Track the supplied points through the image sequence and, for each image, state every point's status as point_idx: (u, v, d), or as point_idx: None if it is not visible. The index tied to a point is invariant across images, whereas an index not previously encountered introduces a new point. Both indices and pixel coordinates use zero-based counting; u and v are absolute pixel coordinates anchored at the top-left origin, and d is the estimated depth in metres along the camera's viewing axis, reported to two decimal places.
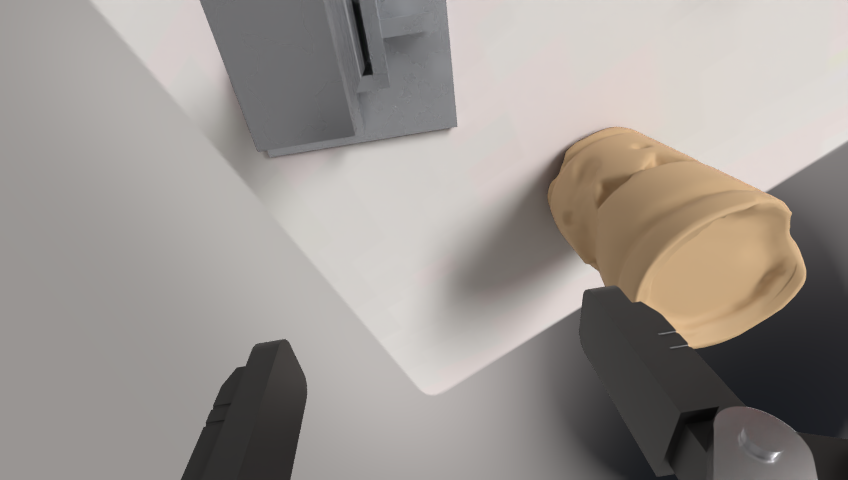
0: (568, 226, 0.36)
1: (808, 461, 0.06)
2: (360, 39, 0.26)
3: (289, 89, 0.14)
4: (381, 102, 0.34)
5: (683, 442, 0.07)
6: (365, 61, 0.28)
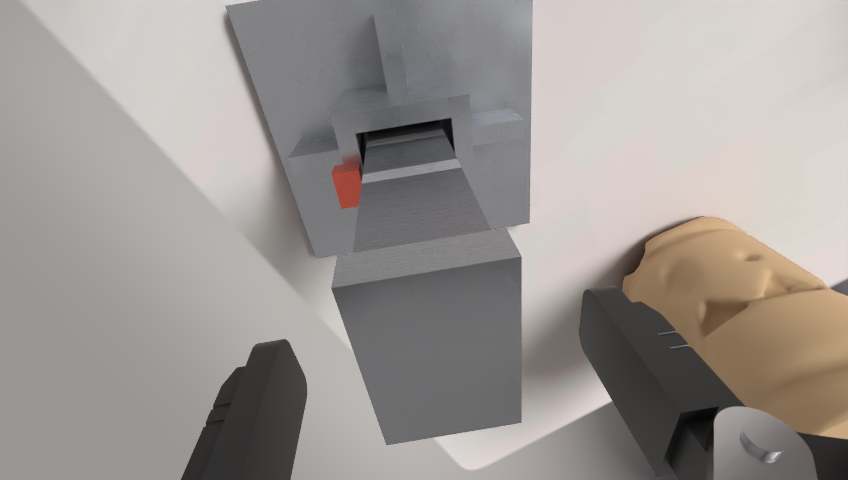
0: None
1: (808, 461, 0.06)
2: None
3: (445, 389, 0.10)
4: None
5: (683, 442, 0.07)
6: None
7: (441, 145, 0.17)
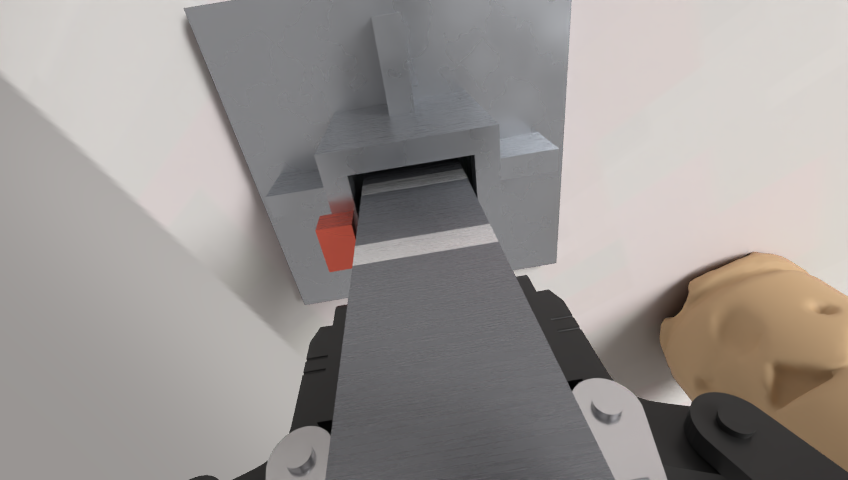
0: None
1: (640, 422, 0.06)
2: None
3: None
4: None
5: None
6: None
7: (464, 197, 0.13)
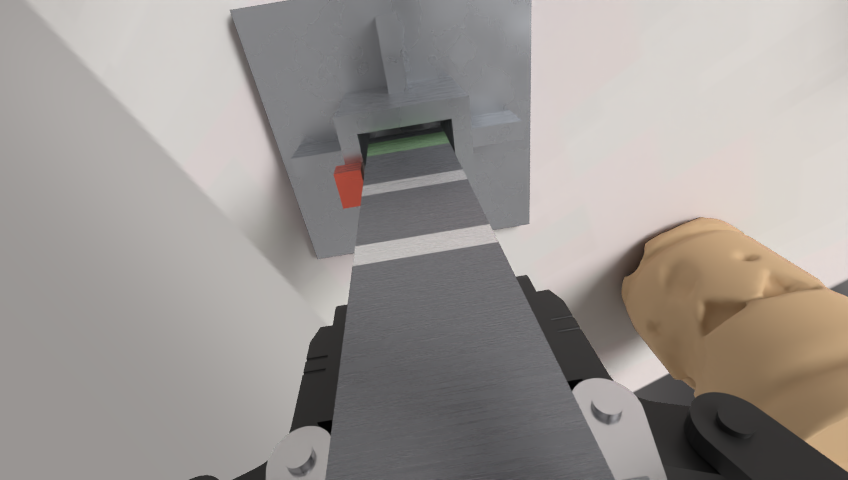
0: (654, 335, 0.32)
1: (640, 422, 0.06)
2: None
3: None
4: None
5: None
6: None
7: (464, 198, 0.13)
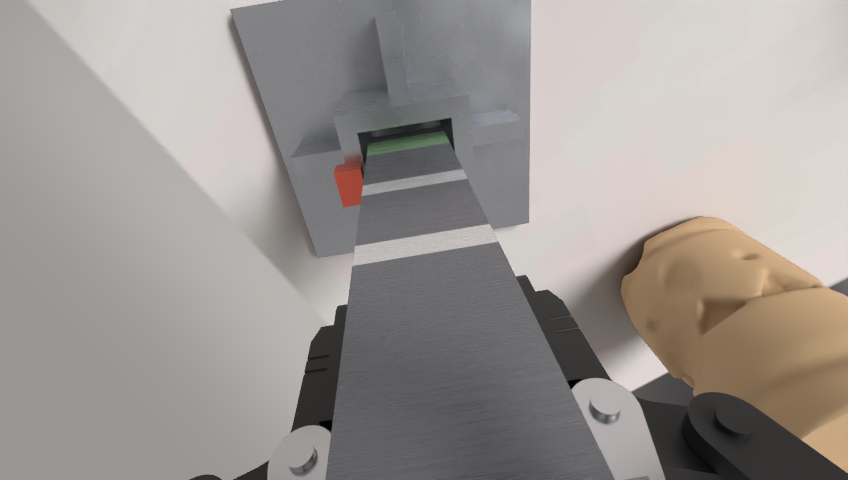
0: (653, 334, 0.32)
1: (638, 422, 0.06)
2: None
3: None
4: None
5: None
6: None
7: (463, 197, 0.13)
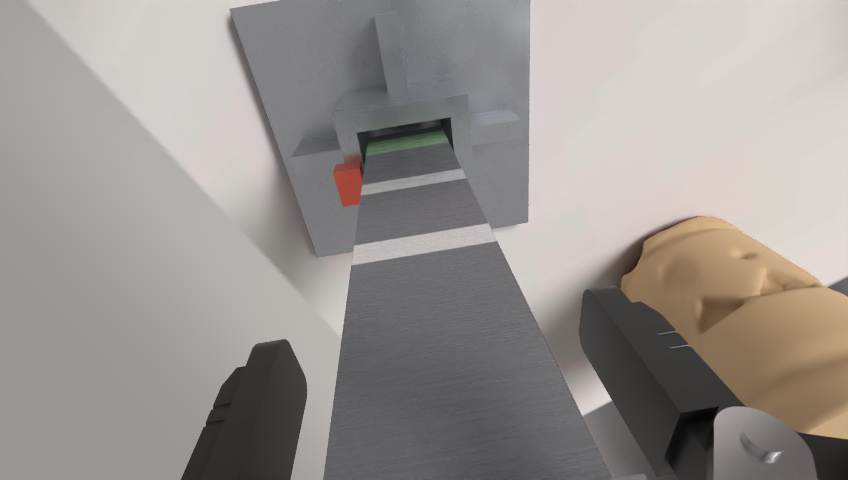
0: None
1: (808, 461, 0.06)
2: None
3: None
4: None
5: (683, 442, 0.07)
6: None
7: (462, 197, 0.13)
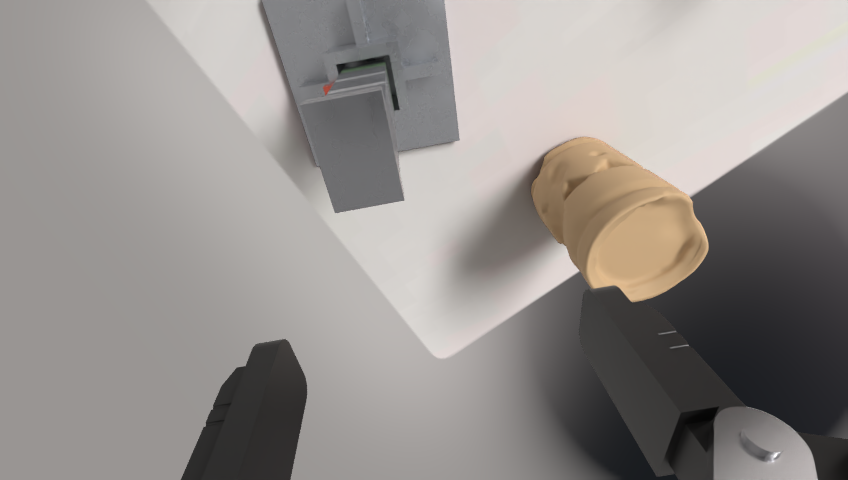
0: (546, 215, 0.47)
1: (808, 461, 0.06)
2: None
3: (360, 172, 0.20)
4: (401, 123, 0.45)
5: (683, 442, 0.07)
6: None
7: (379, 77, 0.28)
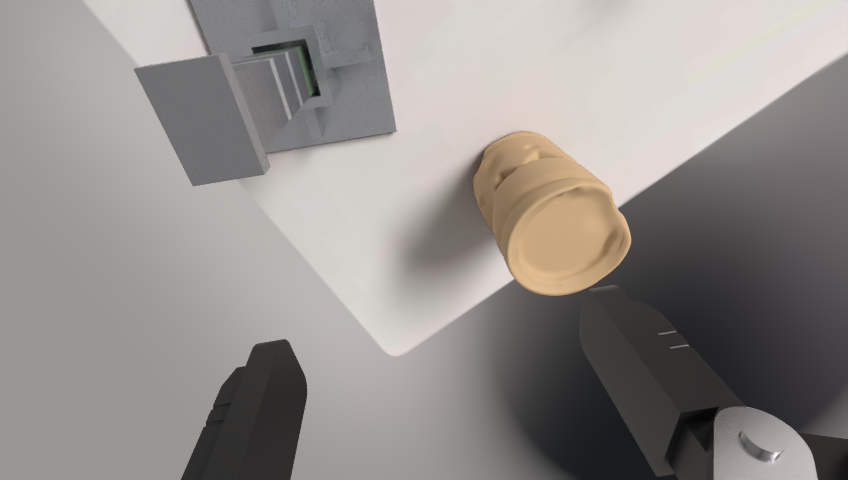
0: (482, 208, 0.46)
1: (808, 461, 0.06)
2: (300, 80, 0.32)
3: (211, 143, 0.20)
4: (336, 113, 0.44)
5: (683, 442, 0.07)
6: (306, 97, 0.33)
7: (274, 56, 0.27)
